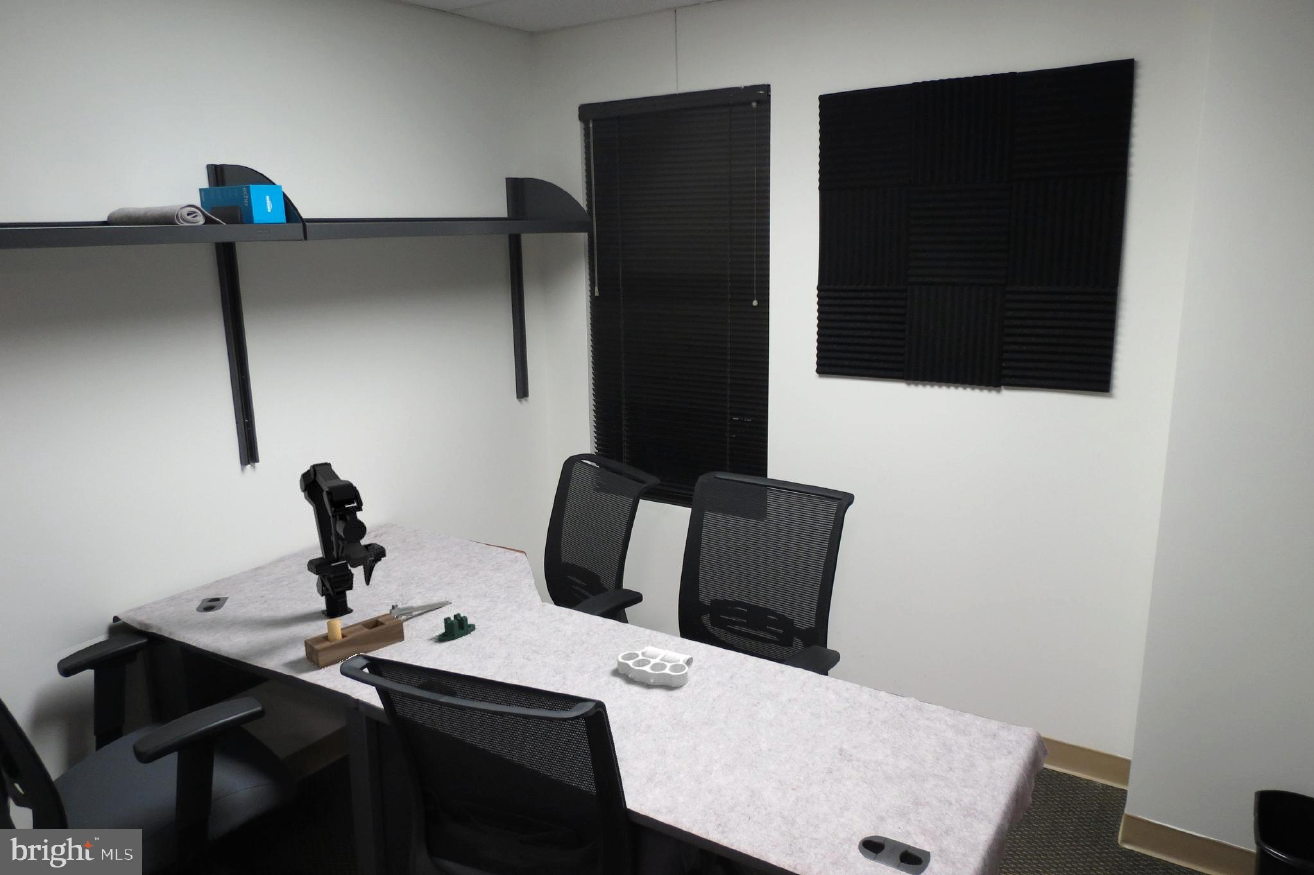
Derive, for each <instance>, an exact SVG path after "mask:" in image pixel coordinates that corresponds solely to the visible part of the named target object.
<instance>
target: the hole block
mask: <svg viewBox="0 0 1314 875" xmlns="http://www.w3.org/2000/svg"><path fill="white" fill-rule="evenodd" d="M404 631H405V629H404V621H403V620H402V619H401V620H399V619H397V618H396V616H395V617H394V616H392V615H390V614H389V613H388V612H387V613H383V614H381V615H377V616H374V617H372V618H368V619H365V620H361V621H359V622H356V623H352V624H350V625H346V626H342V627H341V636H342V639H340V640H337V641H334V642H331V643H330V642H329V638H328V631H327V632H324V633H322V634H318V635H315V636H311V637H309V638H306V639H303V641H304V651H305V658H306V660H307V661H308V660H309V662H310V663H311V664H312V663H313V664H312V665H314V666H315V665H316V666H317V667H316V666H315V667H316V668H317V669H319V668H320V669H319V670H322V668H323V669H325V667H326V668H328V666H329V667H331V665H332V666H335V665H338V664H340V663H343V662H346V661H347V660H346V659H348V658H349V657H351V656H353V655H355V654H360V653H366V654H368V653H372V652H374V651H375V652H376V651H378V650H380V649H383V648H386V647H388V646H392V645H394V644H397V643H400V642H403V641H405V632H404ZM342 660H343V661H342ZM345 660H346V661H345ZM340 661H341V662H340ZM339 662H340V663H339Z"/></svg>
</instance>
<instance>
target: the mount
mask: <svg viewBox="0 0 1314 875" xmlns="http://www.w3.org/2000/svg"><path fill="white" fill-rule="evenodd" d="M461 614H462V613H459V612H458V613H455V614H453V619H452V617H451V616H447V617H444V618H443V625H444V631H442V632H441V633H440V634H438V635H437V642H438V643H447V642H451V641H455V640H459V639H461V638H464V637H466V636H468V634H469V635H470V634H472V633H473V632H474V631H476V624H475V623H469V618H468V616H466V615H461ZM471 632H472V633H471ZM463 636H464V637H463Z"/></svg>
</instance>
